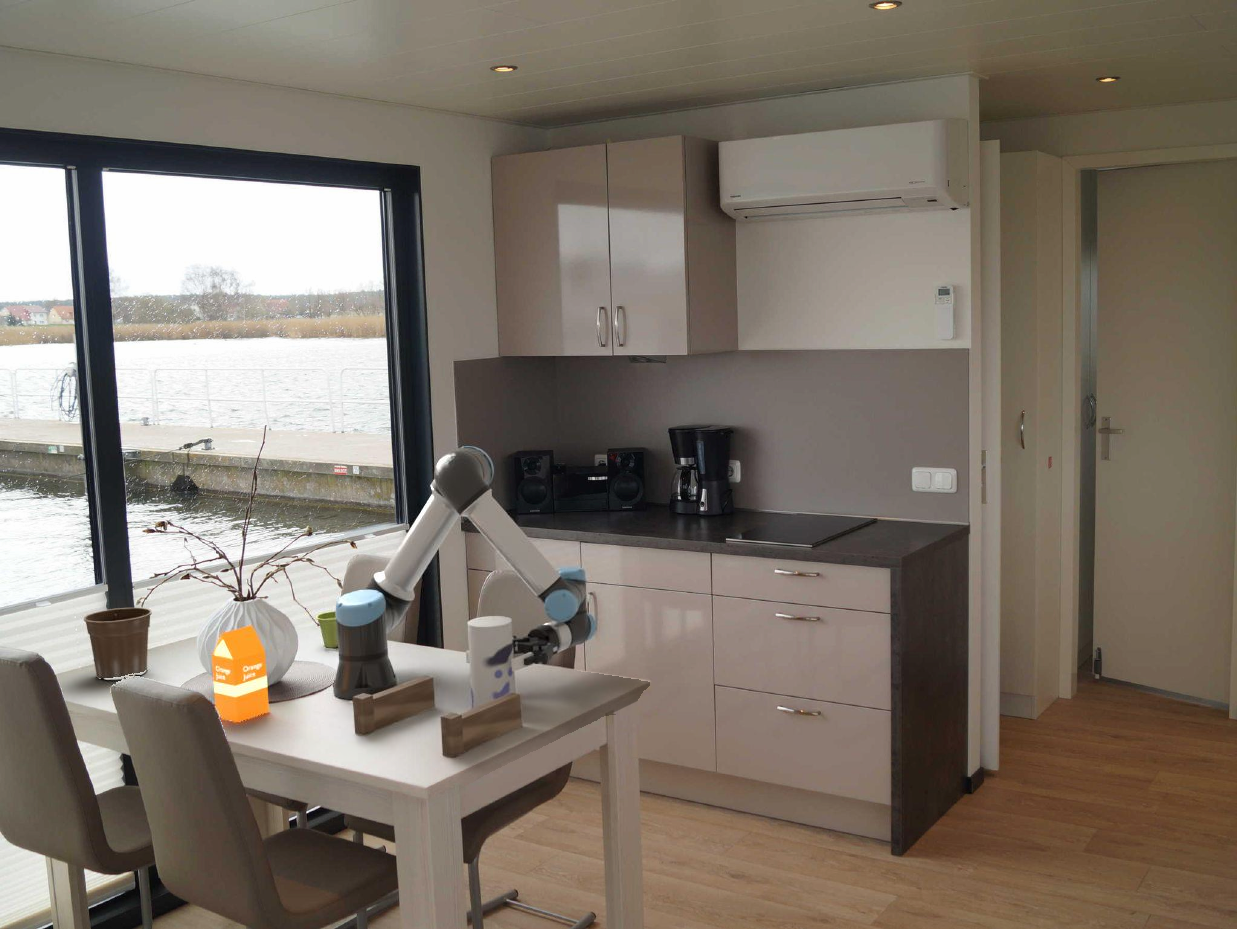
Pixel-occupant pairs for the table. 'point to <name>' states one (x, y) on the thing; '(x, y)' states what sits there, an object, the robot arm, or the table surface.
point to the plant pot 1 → (119, 640)
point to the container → (490, 658)
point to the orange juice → (240, 675)
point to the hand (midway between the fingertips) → (489, 661)
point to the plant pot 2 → (328, 628)
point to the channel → (455, 728)
